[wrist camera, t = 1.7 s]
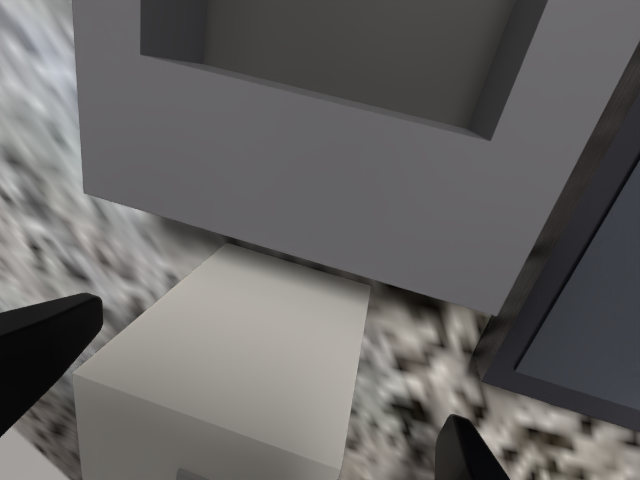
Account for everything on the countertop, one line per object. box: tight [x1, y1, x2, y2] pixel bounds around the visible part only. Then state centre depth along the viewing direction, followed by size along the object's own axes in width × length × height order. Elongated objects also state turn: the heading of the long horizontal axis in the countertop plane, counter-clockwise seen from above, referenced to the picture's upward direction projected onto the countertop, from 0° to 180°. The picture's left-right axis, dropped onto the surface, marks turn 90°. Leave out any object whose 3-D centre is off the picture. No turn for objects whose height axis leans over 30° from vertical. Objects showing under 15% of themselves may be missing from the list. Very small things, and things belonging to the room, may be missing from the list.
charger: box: [72, 243, 371, 480], centre depth 8 cm, size 4×4×5 cm
